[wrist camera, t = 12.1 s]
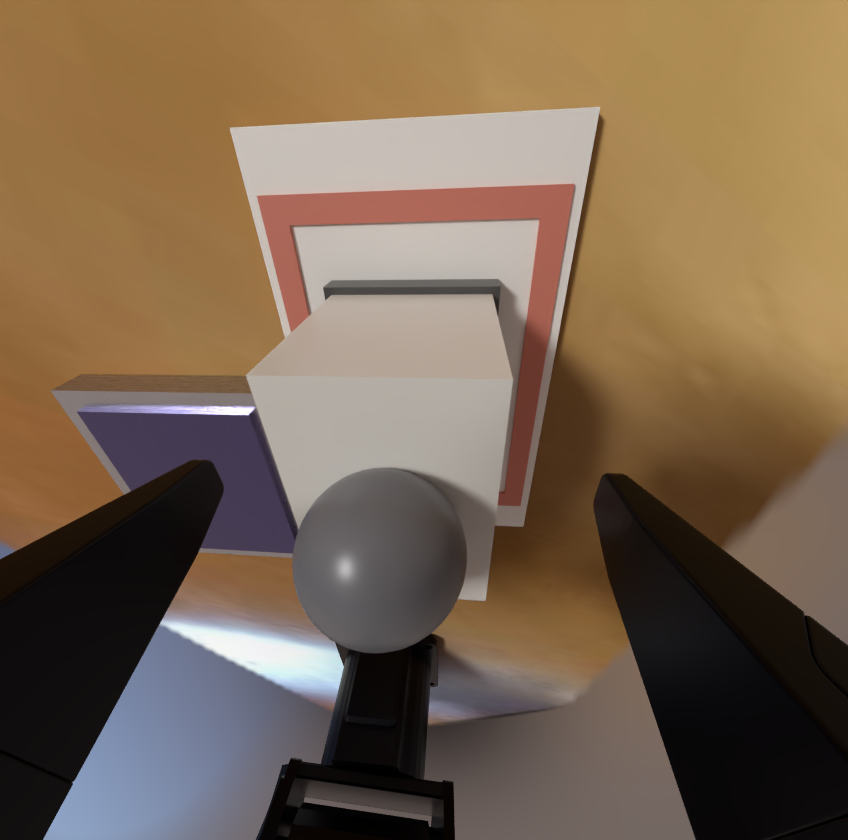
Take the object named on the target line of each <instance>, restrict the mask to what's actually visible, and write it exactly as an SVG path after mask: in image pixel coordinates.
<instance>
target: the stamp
mask: <svg viewBox="0 0 848 840" xmlns="http://www.w3.org/2000/svg"><path fill="white" fill-rule="evenodd" d="M500 289H501V286H500V283H499V280H498V279H435V280H331V281H330V282H329V283H328V284H327V285H325V286H324V287H323V291H324V296H325V301H324V302H323V303H322V304H321V305H320V306H319V307H318V308H317V309H316V310H315V311H314V312H313V313H312V314H311V315H309V316H308V317H307V318H306V319H305V320H304V321H303V322H302V323H301V324H300V325H299V326H298V327H297V328H296V329H295V330H294V331H292V332H291V333H290V334H289V335H288V336H287V337H286V338H285V339H284V340H283V341H282V342H281V343H280V344H279V345H278V346H276V347H275V348H274V349H273V350H272V351H271V352H270V353H269V354H268V355H267V356H266V357H265V358H264V359H263V360H262V361H260V362H259V363H258V364H257V365H256V366H255V367H254V368H253V369H252V370H251V371H250V372H249V373H248V374H247V375H246V377H247V380H248V383H249V386H250V389H251V392H252V395H253V398H254V401H255V404H256V407H257V409H258V412H259V415H260V418H261V421H262V424H263V427H264V430H265V433H266V436H267V439H268V442H269V444H270V447H271V450H272V453H273V456H274V459H275V462H276V465H277V468H278V471H279V474H280V477H281V479H282V482H283V485H284V488H285V491H286V494H287V497H288V500H289V503H290V506H291V509H292V512H293V514H294V517H295V520H296V523H297V526H298V529H299V531H298V533H297V536H296V540H295V545H294V550H293V561H292V568H293V578H294V584H295V588H296V592H297V595H298V598H299V601H300V603H301V605H302V607H303V609H304V611H305V613H306V614H307V616H308V617H309V618H310V620H311V621H312V623H313V624H314V625H315V626H316V627H317V628H318V629H319V630H320V631H321V632H322V633H323V634H324V635H325V636H327V637H328V638H329V639H331V640H333V641H334V642H336V643H338V644H340V645H341V646H344V647H346V648H348V649H351V650H355V651H359V652H364V653H386V652H393V651H398V650H401V649H404V648H406V647H409V646H411V645H414V644H416V643H417V642H419V641H421V640H422V639H424V638H425V637H427V636H428V635H430V634H431V633H432V632H433V631H434V630H435V629H436V628H437V627H438V626H439V625H440V624H442V622H443V621H444V620H445V618H446V617H447V616H448V615H449V613H450V612H451V610H452V609H453V607H454V605H455V603H456V602H457V599H463V600H477V601H486V593H487V585H488V577H489V569H490V561H491V553H492V545H493V537H494V529H495V521H496V513H497V505H498V497H499V489H500V481H501V473H502V465H503V457H504V449H505V441H506V433H507V425H508V417H509V409H510V400H511V392H512V384H513V377H512V373H511V369H510V365H509V361H508V356H507V352H506V348H505V344H504V340H503V336H502V332H501V328H500V323H499V319H498V312H499V301H500Z"/></svg>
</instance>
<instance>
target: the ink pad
mask: <svg viewBox="0 0 848 840" xmlns="http://www.w3.org/2000/svg"><path fill="white" fill-rule="evenodd" d="M51 392H52V393H53V395H54V396H55V398H56V399H57V400H58V402H59V403H60V405H61V406H62V407H63V409H64V410H65V412H66V413H67V415H68V416H69V417H70V419H71V420H72V422H73V423H74V424H75V426H76V427H77V429H78V430H79V431H80V433H81V434H82V436H83V437H84V439H85V440H86V441H87V443H88V444H89V446H90V447H91V448H92V450H93V451H94V453H95V454H96V455H97V457H98V458H99V460H100V461H101V463H102V464H103V465H104V467H105V468H106V470H107V471H108V472H109V474H110V475H111V477H112V478H113V479H114V481H115V482H116V484H117V485H118V486H119V488H120V489H121V491H122V492H123V494H124V495H125V494H126V493H128V492H130V491H132V490H134V489H136V488H138V487H140V486H142V485H144V484H146V483H148V482H150V481H151V480H153V479H155V478H157V477H159V476H161V475H163V474H165V473H167V472H169V471H171V470H173V469H174V468H176V467H178V466H180V465H182V464H184V463H186V462H188V461H190V460H193V459H204V460H210V461H212V462H213V463H214V465H215V467H216V469H217V471H218V473H219V475H220V478H221V480H222V482H223V484H224V493H223V496H222V498H221V501H220V503H219V505H218V508H217V510H216V513H215V515H214V517H213V520H212V522H211V524H210V527H209V529H208V532H207V534H206V536H205V539H204V541H203V543H202V545H201V548H200V550H199V552H203V553H220V554H237V555H254V556H271V557H288V558H293V550H294V545H295V540H296V536H297V533H298V531H299V529H298V526H297V523H296V520H295V517H294V514H293V512H292V509H291V506H290V503H289V500H288V497H287V494H286V491H285V488H284V485H283V482H282V479H281V477H280V474H279V471H278V468H277V465H276V462H275V459H274V456H273V453H272V450H271V447H270V444H269V442H268V439H267V436H266V433H265V430H264V427H263V424H262V421H261V418H260V415H259V412H258V409H257V407H256V404H255V401H254V398H253V395H252V392H251V389H250V386H249V383H248V380H247V377H246V376H153V375H79V376H77V377H75V378H73V379H71V380H69V381H67V382H66V383H64V384H62V385H60V386H58V387H56V388H54V389H52V390H51Z"/></svg>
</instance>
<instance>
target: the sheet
mask: <svg viewBox="0 0 848 840" xmlns="http://www.w3.org/2000/svg"><path fill="white" fill-rule="evenodd" d="M599 111H600V107H591V108H573V109H555V110H537V111H520V112H502V113H484V114H466V115H449V116H431V117H413V118H395V119H378V120H360V121H342V122H324V123H307V124H289V125H271V126H253V127H236V128H230V131H231V135H232V139H233V143H234V146H235V150H236V154H237V158H238V161H239V165H240V169H241V173H242V177H243V180H244V184H245V188H246V192H247V196H248V199H249V203H250V207H251V211H252V215H253V218H254V222H255V226H256V230H257V234H258V237H259V241H260V245H261V249H262V252H263V256H264V260H265V264H266V268H267V271H268V275H269V279H270V283H271V287H272V290H273V294H274V298H275V302H276V306H277V309H278V313H279V317H280V321H281V325H282V328H283V332H284V336H285V338H286V337H287V336H288V335H289V334H290V333H291V332H292V331H294V330H295V329H296V328H297V327H298V326H299V325H300V324H301V323H302V322H303V321H304V320H305V319H306V318H307V317H308V316H309V315H311V314H312V313H313V312H314V311H315V310H316V309H317V308H318V307H319V306H320V305H321V304H322V303H323V302H324V301H325V296H324V291H323V287H324V286H325V285H327V284H328V283H329V282H330V281H331V280H435V279H498V280H499V283H500V286H501V289H500V301H499V312H498V319H499V323H500V328H501V332H502V336H503V340H504V344H505V348H506V352H507V356H508V361H509V365H510V369H511V373H512V377H513V384H512V392H511V400H510V409H509V417H508V425H507V433H506V441H505V449H504V457H503V465H502V473H501V481H500V489H499V497H498V505H497V513H496V521H495V526H514V527H523V526H524V521H525V515H526V510H527V505H528V499H529V494H530V488H531V483H532V477H533V472H534V466H535V461H536V455H537V450H538V444H539V439H540V434H541V428H542V423H543V417H544V412H545V406H546V401H547V395H548V390H549V384H550V379H551V373H552V368H553V363H554V357H555V352H556V346H557V341H558V335H559V330H560V324H561V319H562V313H563V308H564V302H565V297H566V292H567V286H568V281H569V275H570V270H571V264H572V259H573V253H574V248H575V242H576V237H577V231H578V226H579V221H580V215H581V210H582V204H583V199H584V193H585V188H586V182H587V177H588V171H589V166H590V160H591V155H592V150H593V144H594V139H595V133H596V128H597V122H598V117H599Z"/></svg>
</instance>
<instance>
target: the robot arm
mask: <svg viewBox="0 0 848 840" xmlns="http://www.w3.org/2000/svg"><path fill="white" fill-rule="evenodd" d="M223 493H224V484H223V482H222V480H221V478H220V475H219V473H218V471H217V469H216V467H215V465H214V463H213V462H212V461H210V460H204V459H193V460H190V461H188V462H186V463H184V464H182V465H180V466H178V467H176V468H174V469H173V470H171V471H169V472H167V473H165V474H163V475H161V476H159V477H157V478H155V479H153V480H151V481H150V482H148V483H146V484H144V485H142V486H140V487H138V488H136V489H134V490H132V491H130V492H128V493H126V494H125V495H123V496H121V497H119V498H117V499H115V500H113V501H111V502H109V503H107V504H105V505H103V506H102V507H100V508H98V509H96V510H94V511H92V512H90V513H88V514H86V515H84V516H82V517H80V518H79V519H77V520H75V521H73V522H71V523H69V524H67V525H65V526H63V527H61V528H59V529H57V530H55V531H54V532H52V533H50V534H48V535H46V536H44V537H42V538H40V539H38V540H36V541H34V542H32V543H31V544H29V545H27V546H25V547H23V548H21V549H19V550H17V551H15V552H13V553H11V554H9V555H8V556H6V557H4V558H2V559H0V840H43V838H44V836H45V835H46V833H47V831H48V829H49V827H50V825H51V823H52V822H53V820H54V818H55V816H56V814H57V812H58V811H59V809H60V807H61V805H62V803H63V801H64V799H65V798H66V796H67V794H68V792H69V790H70V789H71V786H72V785H73V783H72V782H73V781H74V780H75V779H76V777H77V775H78V773H79V771H80V769H81V768H82V766H83V764H84V762H85V760H86V758H87V757H88V755H89V753H90V751H91V749H92V747H93V745H94V744H95V742H96V740H97V738H98V736H99V735H100V733H101V731H102V729H103V727H104V725H105V723H106V722H107V720H108V718H109V716H110V714H111V713H112V711H113V709H114V707H115V705H116V703H117V702H118V700H119V698H120V696H121V694H122V692H123V690H124V689H125V687H126V685H127V683H128V681H129V679H130V677H131V676H132V674H133V672H134V670H135V668H136V667H137V665H138V663H139V661H140V659H141V657H142V656H143V654H144V652H145V650H146V648H147V646H148V645H149V643H150V641H151V639H152V637H153V635H154V633H155V632H156V630H157V628H158V626H159V624H160V622H161V621H162V619H163V617H164V615H165V613H166V611H167V610H168V608H169V606H170V604H171V602H172V600H173V599H174V597H175V595H176V593H177V591H178V589H179V587H180V586H181V584H182V582H183V580H184V578H185V576H186V575H187V573H188V571H189V569H190V567H191V565H192V564H193V562H194V560H195V558H196V556H197V554H198V552H199V550H200V548H201V545H202V543H203V541H204V539H205V536H206V534H207V532H208V529H209V527H210V524H211V522H212V520H213V517H214V515H215V513H216V510H217V508H218V505H219V503H220V501H221V498H222V496H223ZM593 506H594V513H595V518H596V523H597V527H598V532H599V537H600V542H601V546H602V551H603V556H604V561H605V565H606V570H607V574H608V577H609V581H610V584H611V587H612V590H613V593H614V596H615V599H616V602H617V605H618V608H619V611H620V614H621V617H622V620H623V623H624V626H625V629H626V632H627V635H628V638H629V641H630V644H631V647H632V650H633V653H634V656H635V659H636V662H637V665H638V668H639V671H640V674H641V677H642V680H643V683H644V686H645V689H646V692H647V695H648V698H649V701H650V704H651V707H652V710H653V713H654V716H655V719H656V722H657V725H658V728H659V731H660V734H661V737H662V740H663V743H664V746H665V749H666V752H667V755H668V758H669V761H670V764H671V767H672V770H673V773H674V776H675V779H676V782H677V785H678V788H679V791H680V794H681V797H682V800H683V803H684V806H685V809H686V812H687V815H688V818H689V821H690V824H691V827H692V830H693V833H694V836H695V839H696V840H848V645H847V644H845V643H844V642H843V641H841V640H840V639H839V638H837V637H836V636H835V635H834V634H832V633H831V632H830V631H828V630H827V629H826V628H824V627H823V626H822V625H820V624H819V623H818V622H817V621H815V620H814V619H813V618H811V617H810V616H805V615H804V612H803V611H802V610H801V609H799V608H798V607H797V606H796V605H794V604H793V603H792V602H790V601H789V600H788V599H786V598H785V597H784V596H783V595H781V594H780V593H778V592H777V591H776V590H775V589H773V588H772V587H771V586H770V585H768V584H767V583H766V582H764V581H763V580H762V579H760V578H759V577H758V576H757V575H755V574H754V573H753V572H751V571H750V570H749V569H747V568H746V567H745V566H743V565H742V564H741V563H740V562H738V561H737V560H736V559H734V558H733V557H732V556H731V555H729V554H728V553H727V552H725V551H724V550H723V549H721V548H720V547H719V546H718V545H716V544H715V543H714V542H712V541H711V540H710V539H708V538H707V537H706V536H705V535H703V534H702V533H701V532H699V531H698V530H697V529H695V528H694V527H693V526H692V525H690V524H689V523H688V522H686V521H685V520H684V519H682V518H681V517H680V516H679V515H677V514H676V513H675V512H673V511H672V510H671V509H669V508H668V507H667V506H666V505H664V504H663V503H662V502H660V501H659V500H658V499H656V498H655V497H654V496H653V495H651V494H650V493H649V492H647V491H646V490H645V489H643V488H642V487H641V486H640V485H638V484H637V483H636V482H634V481H633V480H632V479H630V478H629V477H628V476H626V475H624V474H615V473H606V474H604V475H603V476H602V477H601V480H600V483H599V486H598V489H597V492H596V495H595V498H594V504H593ZM335 643H336V642H335ZM336 646H337V649H338V652H339V654H340V657H341V660H342V663H343V665H344V669H343V673H342V678H341V682H340V686H339V690H338V694H337V698H336V703H335V707H334V711H333V716H332V720H331V724H330V728H329V732H328V736H327V741H326V744H325V749H324V753H323V757H322V761H321V764H315V763H307V762H302V760H301V759H298V758H291V759H290V762H289V764H286V765H282V768H281V771H280V774H279V778H278V781H277V785H276V788H275V791H274V794H273V798H272V800H271V803H270V806H269V809H268V812H267V814H266V817H265V819H264V821H263V824H262V826H261V829H260V831H259V833H258V836H257V838H256V840H455V827H454V792H453V791H454V790H453V789H454V788H453V782H452V781H445V780H443V781H442V782H436V781H428V780H424V773H425V757H426V742H427V726H428V711H429V695H430V687H436V686H437V685H438V655H437V640H436V639H435V638H433V637H429V636H427V637H425V638H424V639H422V640H421V641H419V642H417V643H416V644H414V645H411V646H409V647H406V648H404V649H401V650H398V651H393V652H386V653H364V652H359V651H355V650H351V649H348V648H346V647H344V646H341V645H340V644H338V643H336ZM304 797H308V798H315V799H322V800H329V801H335V802H342V803H348V804H355V805H361V806H368V807H375V808H381V809H388V810H395V811H402V812H409V813H415V814H421V815H428V816H432V820H431V827H429V824H428V821H424V820H418V819H411V818H404V817H398V816H391V815H385V814H378V813H371V812H364V811H358V810H351V809H345V808H338V807H332V806H325V805H318V804H312V803H305V802H304Z"/></svg>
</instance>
